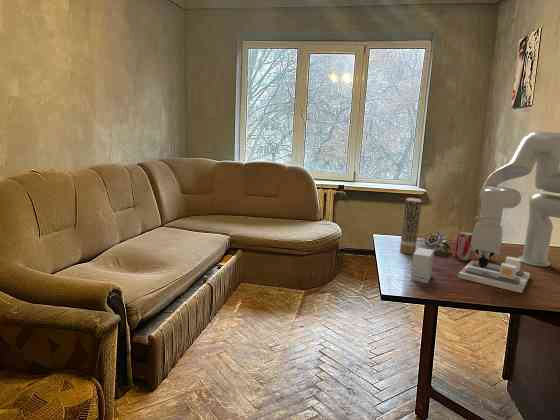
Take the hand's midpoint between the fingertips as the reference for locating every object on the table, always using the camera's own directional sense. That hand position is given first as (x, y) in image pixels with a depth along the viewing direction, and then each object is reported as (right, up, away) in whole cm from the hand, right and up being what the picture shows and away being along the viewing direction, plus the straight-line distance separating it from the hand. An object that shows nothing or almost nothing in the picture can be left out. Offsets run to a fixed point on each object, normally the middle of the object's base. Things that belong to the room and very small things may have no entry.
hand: (482, 267), depth 163 cm
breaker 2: (+7, -3, -5) cm, 9 cm away
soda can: (+4, 0, +27) cm, 27 cm away
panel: (+6, -5, +3) cm, 8 cm away
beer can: (+14, 0, +29) cm, 32 cm away
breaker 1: (+14, -1, +4) cm, 15 cm away
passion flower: (-4, +2, +37) cm, 37 cm away
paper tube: (-20, +2, +31) cm, 37 cm away
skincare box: (-25, -4, -2) cm, 25 cm away
